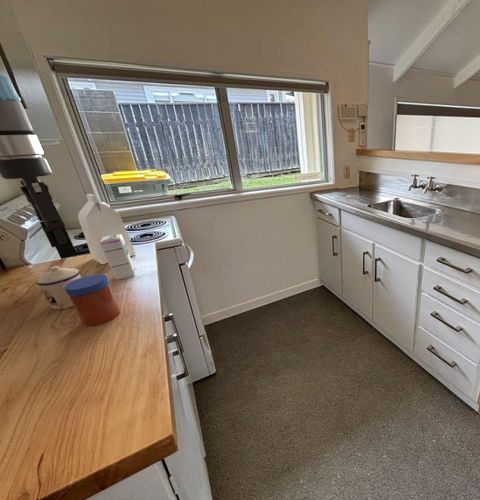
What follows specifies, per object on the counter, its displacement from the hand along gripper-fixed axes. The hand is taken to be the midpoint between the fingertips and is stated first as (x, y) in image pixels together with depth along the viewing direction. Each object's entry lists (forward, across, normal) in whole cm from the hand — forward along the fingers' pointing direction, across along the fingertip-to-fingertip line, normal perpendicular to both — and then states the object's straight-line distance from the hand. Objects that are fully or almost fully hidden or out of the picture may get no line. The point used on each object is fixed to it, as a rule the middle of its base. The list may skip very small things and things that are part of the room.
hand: (64, 251), depth 67 cm
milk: (+20, -52, +16) cm, 58 cm away
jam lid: (+10, -1, +1) cm, 10 cm away
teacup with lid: (+20, -18, -2) cm, 27 cm away
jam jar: (+20, -2, +1) cm, 20 cm away
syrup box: (+20, -28, +13) cm, 37 cm away
